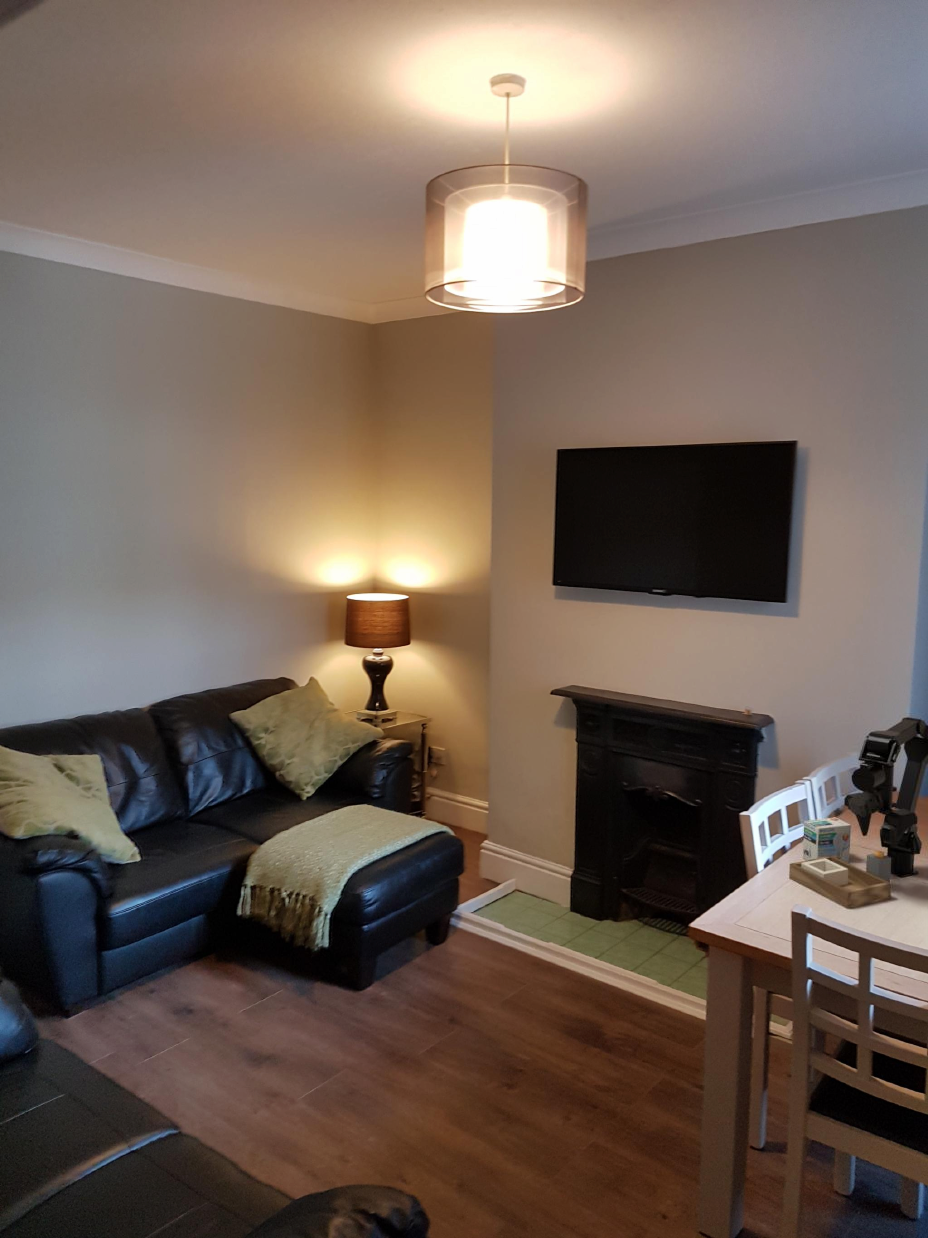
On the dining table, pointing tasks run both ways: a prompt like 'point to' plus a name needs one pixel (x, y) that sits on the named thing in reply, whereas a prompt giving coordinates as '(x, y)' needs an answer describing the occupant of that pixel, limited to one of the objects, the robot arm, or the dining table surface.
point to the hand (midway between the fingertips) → (878, 841)
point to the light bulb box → (826, 839)
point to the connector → (879, 865)
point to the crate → (853, 894)
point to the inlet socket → (828, 871)
